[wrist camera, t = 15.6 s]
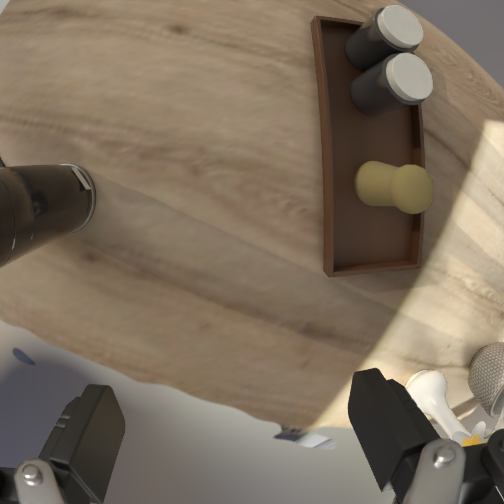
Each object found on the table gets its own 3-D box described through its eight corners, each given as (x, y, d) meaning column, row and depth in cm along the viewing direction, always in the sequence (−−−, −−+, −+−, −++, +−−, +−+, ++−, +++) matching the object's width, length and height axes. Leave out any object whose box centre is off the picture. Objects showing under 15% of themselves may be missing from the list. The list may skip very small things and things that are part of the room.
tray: (323, 271, 40) (328, 277, 38) (310, 23, 31) (315, 15, 29) (411, 262, 41) (420, 267, 38) (401, 38, 32) (409, 33, 29)
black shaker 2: (351, 114, 34) (392, 98, 24) (347, 72, 33) (384, 44, 22) (390, 118, 35) (439, 107, 24) (386, 77, 33) (431, 56, 23)
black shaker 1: (346, 70, 33) (384, 41, 22) (341, 32, 31) (374, -4, 21) (386, 75, 33) (430, 53, 22) (380, 39, 31) (420, 9, 21)
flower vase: (371, 419, 49) (420, 517, 25) (415, 342, 45) (500, 436, 21) (417, 416, 51) (469, 497, 27) (459, 346, 47) (536, 420, 23)
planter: (484, 324, 46) (523, 354, 33) (507, 338, 48) (541, 365, 36) (447, 380, 49) (479, 417, 36) (475, 388, 51) (504, 418, 39)
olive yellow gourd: (349, 164, 36) (391, 164, 26) (389, 157, 36) (438, 157, 26) (358, 210, 38) (400, 226, 27) (396, 201, 38) (445, 214, 27)
